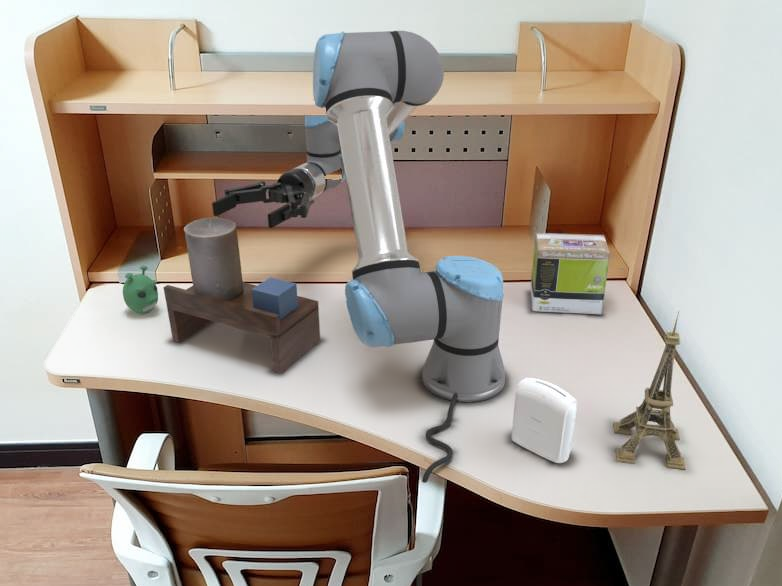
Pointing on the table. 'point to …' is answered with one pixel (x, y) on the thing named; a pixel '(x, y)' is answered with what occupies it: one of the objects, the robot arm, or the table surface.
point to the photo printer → (544, 419)
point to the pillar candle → (214, 257)
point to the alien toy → (140, 292)
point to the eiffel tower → (654, 412)
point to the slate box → (275, 296)
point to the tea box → (569, 273)
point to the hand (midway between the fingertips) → (241, 215)
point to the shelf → (246, 321)
